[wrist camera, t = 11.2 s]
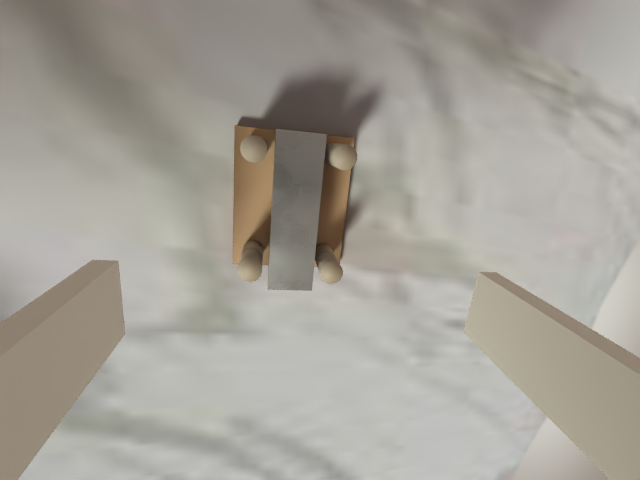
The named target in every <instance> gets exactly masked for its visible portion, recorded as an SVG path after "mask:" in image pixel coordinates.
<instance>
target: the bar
mask: <svg viewBox="0 0 640 480" xmlns="http://www.w3.org/2000/svg"><path fill="white" fill-rule="evenodd" d="M326 138H327V134H322V133H312V132H303V131H293V130H284V129H276V130H275V146H274V165H273V184H272V203H271V222H270V241H269V261H268V290H310V291H312V282H313V272H314V262H315V252H316V241H317V231H318V221H319V210H320V200H321V190H322V179H323V169H324V159H325V149H326Z"/></svg>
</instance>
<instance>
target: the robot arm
mask: <svg viewBox="0 0 640 480" xmlns="http://www.w3.org/2000/svg"><path fill="white" fill-rule="evenodd" d="M464 333H465V334H466V335H467V336H468V337H469V338H470V339H471V340H472V341H473V342H474V343H475V344H476V345H477V346H478V347H479V348H480V349H481V350H482V351H483V352H484V353H485V354H486V355H487V356H488V357H489V358H490V359H491V360H492V361H493V362H494V363H495V364H496V366H497V367H498V368H499V369H500V370H501V371H502V372H503V373H504V374H505V375H506V376H507V377H508V378H509V379H510V380H511V381H512V382H513V383H514V384H515V385H516V386H517V387H518V388H519V389H520V390H521V391H522V392H523V393H524V394H525V395H526V396H527V397H528V398H529V399H530V400H531V401H532V402H533V403H534V404H535V405H536V406H537V407H538V408H539V409H540V410H541V411H542V412H543V413H544V414H545V415H546V416H547V417H548V418H549V419H550V420H551V421H552V422H553V423H554V424H555V425H556V426H557V427H558V428H559V429H560V430H561V431H562V432H563V433H564V434H565V435H566V436H567V437H568V438H569V439H570V440H571V441H572V442H573V443H574V444H575V445H576V446H577V447H578V448H579V449H580V450H581V451H582V452H583V453H584V454H585V455H586V456H587V457H588V458H589V459H590V460H591V461H592V462H593V463H594V464H595V465H596V466H597V467H598V468H599V469H600V470H601V471H602V472H603V473H604V474H605V475H606V476H607V477H608V478H609V479H610V480H640V358H639V357H637V356H636V355H634V354H632V353H631V352H629V351H627V350H625V349H624V348H622V347H620V346H619V345H617V344H615V343H614V342H612V341H610V340H609V339H607V338H605V337H604V336H602V335H600V334H598V333H597V332H595V331H594V330H592V329H590V328H589V327H587V326H585V325H584V324H582V323H580V322H578V321H577V320H575V319H573V318H572V317H570V316H568V315H567V314H565V313H563V312H562V311H560V310H558V309H557V308H555V307H553V306H552V305H550V304H548V303H547V302H545V301H543V300H542V299H540V298H538V297H537V296H535V295H533V294H531V293H530V292H528V291H526V290H525V289H523V288H521V287H520V286H518V285H516V284H515V283H513V282H511V281H510V280H508V279H506V278H505V277H503V276H501V275H500V274H498V273H496V272H479V274H478V278H477V282H476V286H475V289H474V293H473V297H472V301H471V305H470V309H469V313H468V317H467V321H466V325H465V329H464ZM124 335H125V327H124V316H123V306H122V295H121V285H120V274H119V264H118V261H109V260H92V261H90V262H89V263H87V264H86V265H84V266H83V267H82V268H80V269H79V270H77V271H76V272H74V273H73V274H71V275H70V276H69V277H67V278H66V279H64V280H63V281H61V282H60V283H58V284H57V285H56V286H54V287H53V288H51V289H50V290H48V291H47V292H45V293H44V294H42V295H41V296H40V297H38V298H37V299H35V300H34V301H32V302H31V303H29V304H28V305H27V306H25V307H24V308H22V309H21V310H19V311H18V312H16V313H15V314H13V315H12V316H11V317H9V318H8V319H6V320H5V321H3V322H2V323H0V480H18V479H19V477H20V476H21V474H22V473H23V472H24V470H25V469H26V468H27V466H28V465H29V464H30V462H31V461H32V460H33V458H34V457H35V455H36V454H37V453H38V451H39V450H40V449H41V447H42V446H43V445H44V443H45V442H46V441H47V439H48V438H49V436H50V435H51V434H52V432H53V431H54V430H55V428H56V427H57V426H58V424H59V423H60V422H61V420H62V419H63V417H64V416H65V415H66V413H67V412H68V411H69V409H70V408H71V407H72V405H73V404H74V403H75V401H76V400H77V398H78V397H79V396H80V394H81V393H82V392H83V390H84V389H85V388H86V386H87V385H88V384H89V382H90V381H91V379H92V378H93V377H94V375H95V374H96V373H97V371H98V370H99V369H100V367H101V366H102V365H103V363H104V362H105V361H106V359H107V358H108V356H109V355H110V354H111V352H112V351H113V350H114V348H115V347H116V346H117V344H118V343H119V342H120V340H121V339H122V337H123V336H124Z"/></svg>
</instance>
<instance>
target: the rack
mask: <svg viewBox="0 0 640 480" xmlns="http://www.w3.org/2000/svg"><path fill="white" fill-rule="evenodd" d="M354 140H355V138H351V137H341V136H331V135H327V138H326V149H325V159H324V169H323V179H322V190H321V200H320V210H319V221H318V231H317V241H316V252H315V262H314V267H318V270H319V273H320V276H321V278H322V280H323V281H324V282H326V283H329V284H333V283H336V282H338V281H339V280H340V279H341V278H342V275H343V270H342V268H341V266H340V257H341V248H342V240H343V232H344V223H345V215H346V207H347V198H348V190H349V182H350V174H351V168H352V167H353V166H354V165H355V163H356V161H357V153H356V151H355V149H354ZM274 146H275V130H273V129H263V128H253V127H243V126H235V147H234V210H233V264H239V266H238V275H239V277H240V278H241V279H242V280H244V281H247V282H252V281H255V280H257V279H258V278H259V277H260V276H261V273H262V265H268V261H269V241H270V222H271V203H272V184H273V165H274Z"/></svg>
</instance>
